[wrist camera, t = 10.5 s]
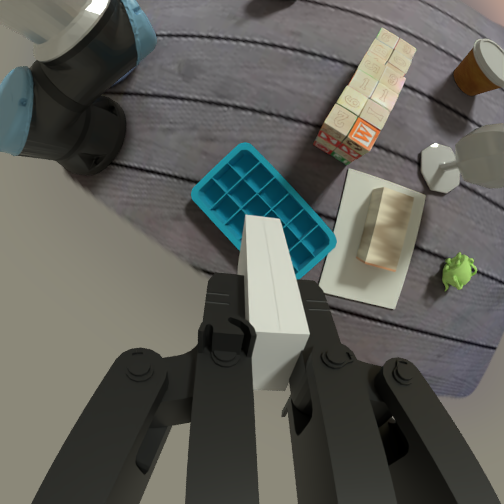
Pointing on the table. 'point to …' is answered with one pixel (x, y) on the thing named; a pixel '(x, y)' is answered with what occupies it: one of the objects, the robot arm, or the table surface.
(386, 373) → the robot arm
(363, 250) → the birch block
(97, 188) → the table surface
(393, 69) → the stack of blocks
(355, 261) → the rubber mat
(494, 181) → the wineglass
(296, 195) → the ice cube tray
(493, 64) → the disposable coffee cup
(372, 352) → the table surface
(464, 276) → the green monster figurine
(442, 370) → the table surface
